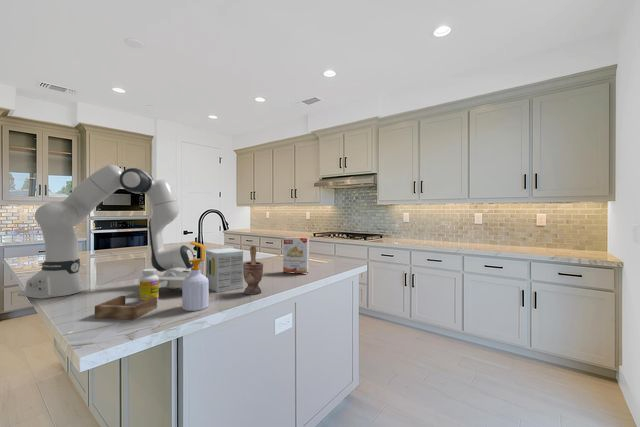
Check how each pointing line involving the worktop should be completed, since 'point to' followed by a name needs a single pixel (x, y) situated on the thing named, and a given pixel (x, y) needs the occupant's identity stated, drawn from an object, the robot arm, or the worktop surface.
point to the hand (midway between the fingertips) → (155, 285)
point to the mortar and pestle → (252, 273)
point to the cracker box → (296, 254)
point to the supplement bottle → (149, 285)
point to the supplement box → (224, 269)
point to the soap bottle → (195, 286)
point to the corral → (124, 309)
